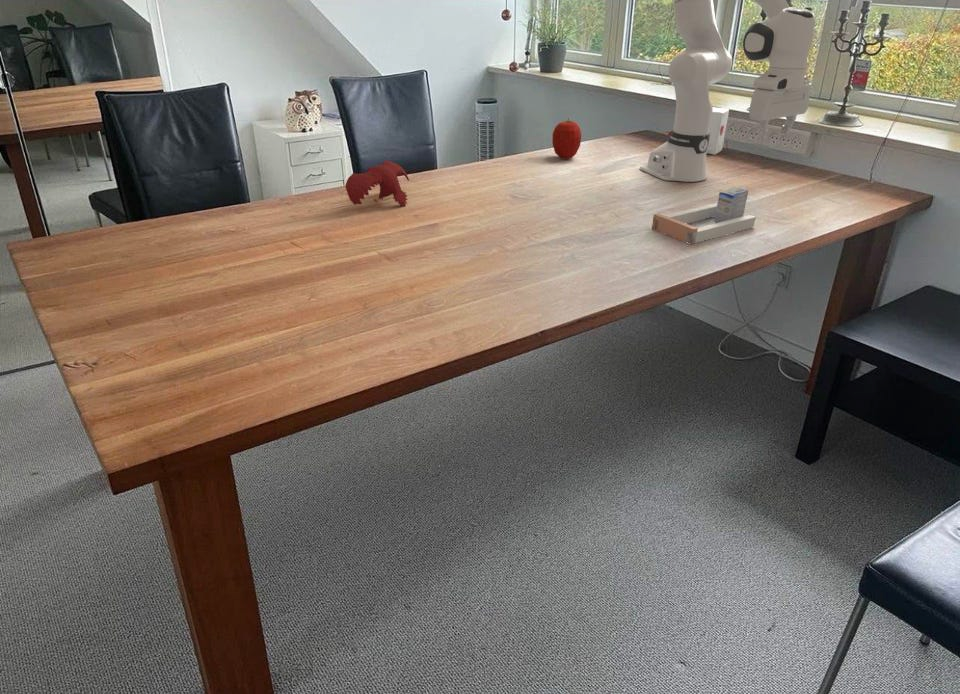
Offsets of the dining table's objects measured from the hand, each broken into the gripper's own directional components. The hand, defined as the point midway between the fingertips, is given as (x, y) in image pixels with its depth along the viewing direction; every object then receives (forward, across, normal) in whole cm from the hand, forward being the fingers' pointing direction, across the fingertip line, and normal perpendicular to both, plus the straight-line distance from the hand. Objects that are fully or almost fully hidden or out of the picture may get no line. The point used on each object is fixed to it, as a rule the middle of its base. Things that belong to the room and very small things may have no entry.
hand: (774, 134), depth 185 cm
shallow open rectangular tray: (+22, +21, -2) cm, 31 cm away
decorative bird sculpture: (+21, +82, -65) cm, 107 cm away
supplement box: (+22, -48, -58) cm, 78 cm away
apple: (+21, +5, -77) cm, 80 cm away
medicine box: (+22, +11, -1) cm, 25 cm away
